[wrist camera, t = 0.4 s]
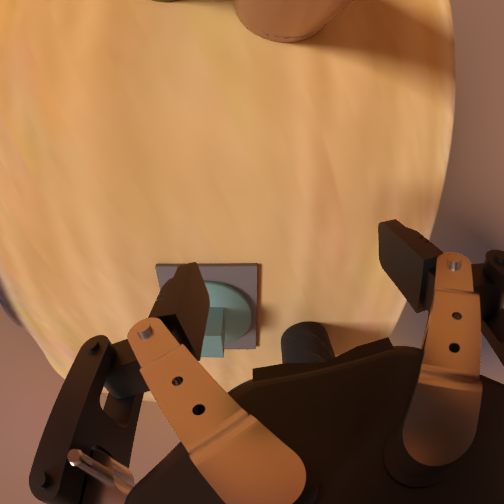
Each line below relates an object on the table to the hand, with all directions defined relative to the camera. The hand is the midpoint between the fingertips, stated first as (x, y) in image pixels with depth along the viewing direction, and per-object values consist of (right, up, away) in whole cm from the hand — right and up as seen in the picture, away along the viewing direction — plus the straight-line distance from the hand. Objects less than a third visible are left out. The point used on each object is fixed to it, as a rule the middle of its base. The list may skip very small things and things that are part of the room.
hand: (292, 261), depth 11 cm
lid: (-7, -8, +24) cm, 27 cm away
